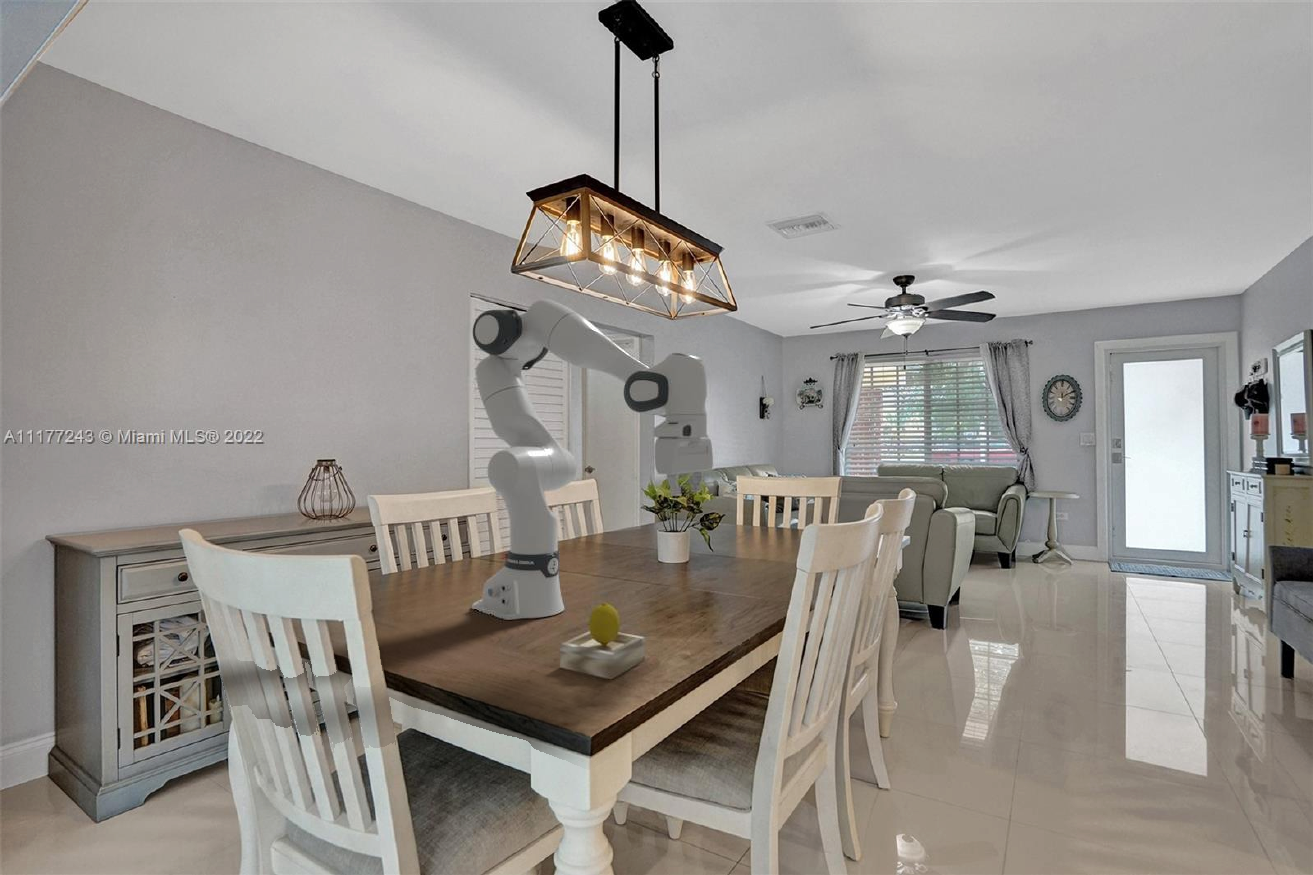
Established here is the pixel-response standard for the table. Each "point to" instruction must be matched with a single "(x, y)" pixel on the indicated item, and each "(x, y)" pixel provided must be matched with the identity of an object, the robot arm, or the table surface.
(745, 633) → the table surface
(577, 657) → the base
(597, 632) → the lemon
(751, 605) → the table surface
